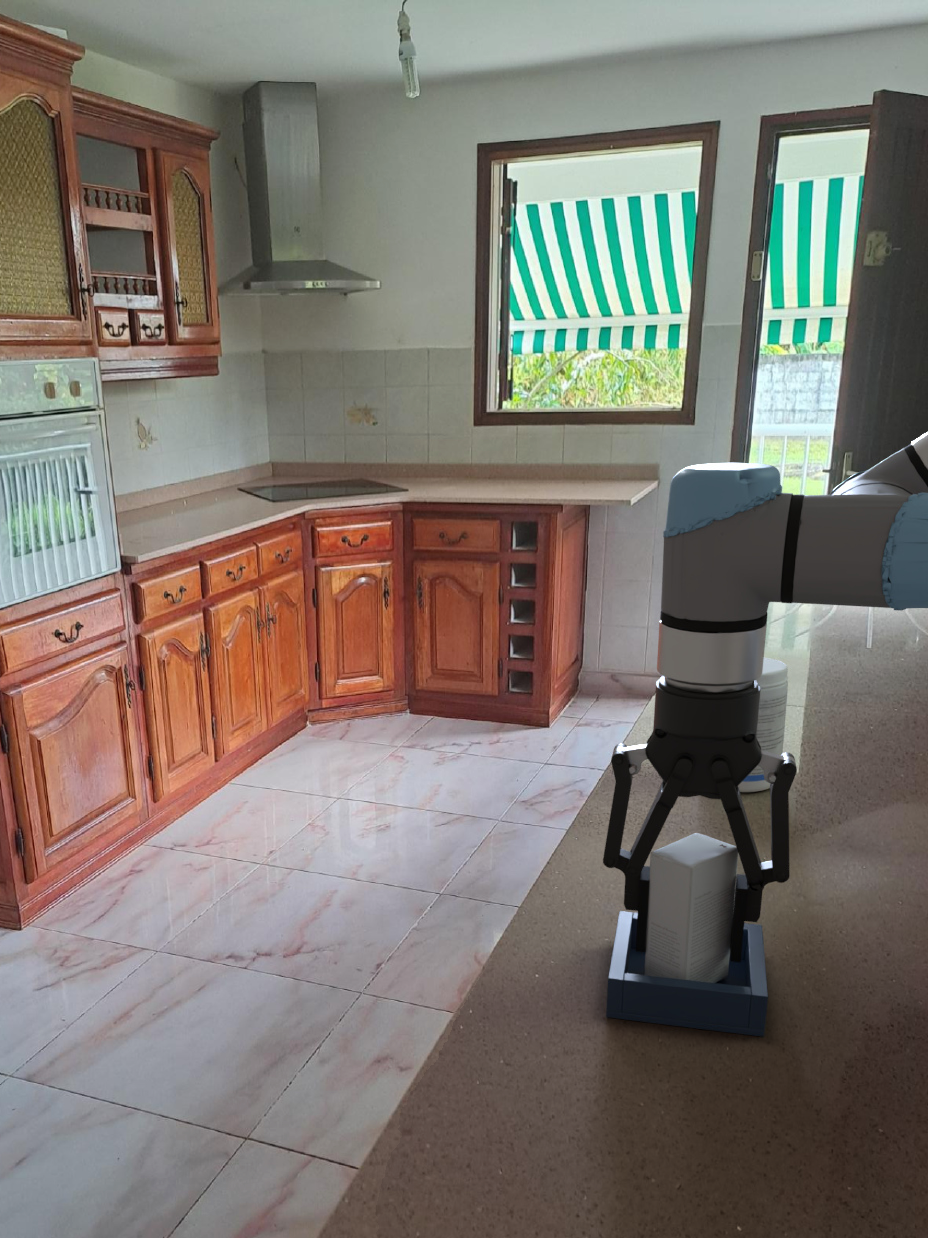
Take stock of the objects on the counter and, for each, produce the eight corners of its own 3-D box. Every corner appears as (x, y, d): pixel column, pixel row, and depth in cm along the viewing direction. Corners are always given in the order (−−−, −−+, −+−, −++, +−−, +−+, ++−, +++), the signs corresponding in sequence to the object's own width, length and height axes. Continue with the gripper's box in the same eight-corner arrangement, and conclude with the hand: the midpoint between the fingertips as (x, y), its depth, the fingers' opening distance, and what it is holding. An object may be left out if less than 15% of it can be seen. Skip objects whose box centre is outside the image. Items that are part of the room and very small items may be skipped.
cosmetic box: (686, 958, 96) (696, 830, 92) (729, 977, 93) (741, 846, 88) (640, 982, 93) (648, 850, 88) (682, 1003, 89) (693, 867, 85)
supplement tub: (796, 782, 135) (808, 665, 130) (745, 801, 130) (756, 679, 125) (730, 762, 143) (739, 650, 138) (679, 779, 138) (687, 664, 133)
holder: (758, 961, 96) (762, 924, 95) (763, 1037, 86) (768, 996, 84) (617, 946, 100) (619, 910, 99) (606, 1017, 89) (607, 978, 88)
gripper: (845, 670, 84) (812, 940, 92) (580, 661, 90) (571, 915, 98) (856, 698, 77) (820, 986, 85) (569, 686, 83) (561, 957, 91)
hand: (687, 948), depth 91 cm, fingers closed on cosmetic box, 7 cm apart
